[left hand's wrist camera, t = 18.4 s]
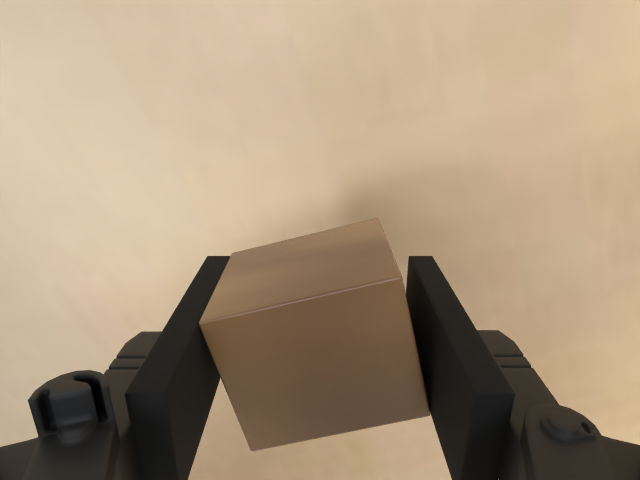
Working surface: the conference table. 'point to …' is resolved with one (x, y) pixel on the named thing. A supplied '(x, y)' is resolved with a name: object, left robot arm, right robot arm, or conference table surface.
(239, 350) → the brick
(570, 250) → the conference table surface
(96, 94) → the conference table surface
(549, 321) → the conference table surface
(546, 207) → the conference table surface
